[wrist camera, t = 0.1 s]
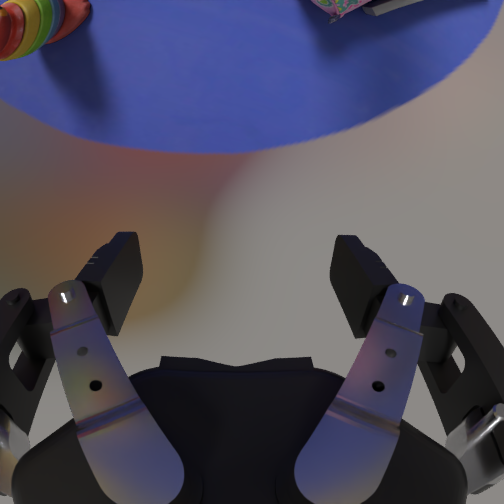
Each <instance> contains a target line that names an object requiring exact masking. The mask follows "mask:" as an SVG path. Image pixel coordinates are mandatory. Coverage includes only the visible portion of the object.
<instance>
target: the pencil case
mask: <svg viewBox="0 0 504 504" xmlns="http://www.w3.org/2000/svg"><path fill="white" fill-rule="evenodd" d="M311 1H312V2H313V3H314V4H316V5H317V6H318V7H320V8H321V9H323V10H324V11H325V12H327V13H328V14H330V15H331V17H330V18H329V20H328V24H330V23H333V22H335V21H337V20H338V19H339V18H341V17H343V16H344V14H345V13H348V12H350V11H352V10H354V9H355V8H358V7H360V6H361V5H363V4H365V3H367V2H369V1H371V0H311Z"/></svg>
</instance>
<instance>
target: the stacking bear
mask: <svg viewBox="0 0 504 504" xmlns="http://www.w3.org/2000/svg"><path fill="white" fill-rule="evenodd" d="M89 13H90V3H89V2H88V0H8V1H7V2H5V3H3V4H2V5H0V61H7V60H12V59H17V58H21V57H24V56H26V55H29V54H31V53H33V52H35V51H36V50H38V49H39V48H41V47H42V46H43V45H44V44H50V43H53V42H56V41H58V40H60V39H62V38H64V37H65V36H67V35H68V34H70V33H71V32H73V31H74V30H75V29H76V28H77V27H78V26H79V25H80V24H81V23H82V22H83V21H84V20H85V19H86V17H87V16H88V14H89Z"/></svg>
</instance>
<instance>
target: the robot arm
mask: <svg viewBox="0 0 504 504" xmlns="http://www.w3.org/2000/svg"><path fill="white" fill-rule="evenodd" d="M142 276H143V265H142V259H141V253H140V247H139V240H138V235H137V233H136V232H118V233H116V235H115V236H114V237H113V239H112V240H111V241H110V242H109V243H108V244H105V245H103V246H102V247H100V248H99V249H98V250H97V251H96V252H95V253H94V254H93V256H92V258H90V260H89V261H88V262H87V264H86V265H85V266H84V268H83V269H82V270H81V272H80V273H79V274H78V276H77V277H76V278H75V280H69V281H65V282H62V283H60V284H58V285H56V286H55V287H54V288H53V289H52V290H51V291H50V292H49V295H48V298H45V299H38V300H32V298H31V295H30V293H29V291H28V290H27V289H23V288H18V289H14V290H12V291H10V292H8V293H7V294H5V295H4V296H3V298H2V299H1V300H0V495H2V496H7V495H8V496H10V497H12V498H13V501H14V504H466V499H467V495H468V494H479V493H481V492H483V491H484V490H487V489H488V488H490V487H491V486H493V485H495V484H497V483H498V482H500V481H501V480H503V479H504V347H503V346H502V344H501V343H500V341H499V340H498V338H497V337H496V335H495V334H494V332H493V331H492V330H491V328H490V327H489V325H488V324H487V323H486V321H485V320H484V319H483V317H482V316H481V314H480V313H479V312H478V310H477V309H476V308H475V306H473V304H472V303H471V302H470V301H469V300H468V299H467V298H465V297H463V296H461V295H459V294H455V293H449V294H446V295H445V296H444V299H443V301H442V303H441V305H440V304H434V303H428V302H425V300H424V297H423V295H422V294H421V293H420V292H419V291H418V290H417V289H415V288H413V287H411V286H409V285H406V284H399V283H398V281H397V280H396V279H395V277H394V276H393V274H392V273H391V272H390V270H389V269H388V268H386V265H385V264H384V263H383V262H382V260H381V259H380V257H379V256H378V255H377V254H376V253H375V252H373V251H372V250H370V249H369V248H367V247H365V246H364V245H363V244H362V242H361V241H360V240H359V238H358V237H357V236H355V235H338V236H337V238H336V241H335V246H334V252H333V257H332V262H331V267H330V281H331V284H332V286H333V289H334V291H335V293H336V295H337V298H338V300H339V302H340V304H341V307H342V309H343V311H344V313H345V316H346V318H347V320H348V323H349V325H350V327H351V330H352V332H353V335H354V337H355V338H366V339H365V341H364V343H363V345H362V347H361V349H360V351H359V353H358V355H357V358H356V359H355V362H354V363H353V365H352V367H351V369H350V371H349V373H348V375H347V377H346V378H344V377H342V376H340V375H338V374H336V373H333V372H330V371H327V370H323V369H319V368H314V367H313V363H312V359H311V357H299V358H277V359H276V358H275V359H271V360H267V361H262V362H257V363H253V364H248V365H244V366H230V365H224V364H221V363H216V362H211V361H208V360H203V359H199V358H185V357H169V356H161V361H160V366H159V367H155V368H151V369H146V370H143V371H140V372H138V373H136V374H133V375H131V376H129V377H128V376H127V375H126V373H125V371H124V369H123V367H122V365H121V363H120V361H119V360H118V357H117V356H116V353H115V352H114V350H113V348H112V345H111V343H110V341H109V339H108V337H107V335H111V336H118V334H119V332H120V330H121V327H122V325H123V322H124V320H125V317H126V315H127V313H128V310H129V308H130V306H131V303H132V301H133V299H134V296H135V294H136V292H137V290H138V287H139V285H140V283H141V281H142ZM16 341H17V342H18V344H19V346H20V348H21V350H22V352H21V354H20V356H19V358H18V360H17V362H16V364H15V366H14V368H13V370H12V369H11V368H10V365H9V355H10V352H11V350H12V348H13V346H14V345H15V343H16ZM457 345H458V347H459V349H460V351H461V352H462V354H463V356H464V358H465V368H464V371H463V372H462V373H461V372H460V370H459V368H458V366H457V365H456V363H455V361H454V359H453V357H452V353H453V351H454V350H455V348H456V347H457ZM55 360H56V362H57V366H58V370H59V373H60V377H61V380H62V384H63V387H64V391H65V394H66V397H67V400H68V403H69V406H70V409H71V412H72V414H73V417H74V418H73V419H71V420H70V421H69V422H67V423H66V424H65V425H63V426H62V427H60V428H59V429H58V430H56V431H55V432H54V433H52V434H51V435H50V436H48V437H47V438H46V439H44V440H43V441H41V442H40V443H38V444H37V445H36V446H34V447H33V448H31V449H30V441H29V438H28V435H29V431H30V428H31V425H32V422H33V418H34V416H35V413H36V410H37V407H38V404H39V401H40V398H41V396H42V393H43V390H44V388H45V385H46V382H47V380H48V377H49V375H50V372H51V370H52V367H53V365H54V363H55ZM417 364H418V366H419V368H420V370H421V373H422V375H423V377H424V380H425V382H426V384H427V387H428V389H429V391H430V394H431V396H432V399H433V401H434V403H435V406H436V409H437V411H438V414H439V416H440V419H441V421H442V424H443V427H444V429H445V432H446V435H447V440H446V444H445V445H446V448H445V447H443V446H442V445H440V444H439V443H437V442H435V441H434V440H432V439H431V438H430V437H428V436H426V435H425V434H423V433H422V432H420V431H419V430H418V429H416V428H415V427H413V426H412V425H410V424H409V423H408V422H406V421H405V420H403V419H402V415H403V412H404V409H405V406H406V403H407V399H408V396H409V393H410V389H411V386H412V382H413V378H414V374H415V371H416V366H417Z"/></svg>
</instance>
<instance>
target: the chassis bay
mask: <svg viewBox="0 0 504 504" xmlns="http://www.w3.org/2000/svg"><path fill="white" fill-rule="evenodd" d="M419 1H422V0H378V1H375V2H372V3H369V4H367V5H364V6H362V8H363V10H364V12H365V13H366V14H369V15H374V16H378V15H381V14H383V13H386V12H389V11H391V10H394V9H397V8H400V7H403V6H406V5H409V4H412V3H416V2H419Z"/></svg>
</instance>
